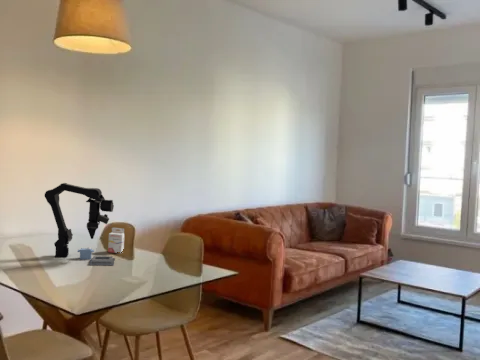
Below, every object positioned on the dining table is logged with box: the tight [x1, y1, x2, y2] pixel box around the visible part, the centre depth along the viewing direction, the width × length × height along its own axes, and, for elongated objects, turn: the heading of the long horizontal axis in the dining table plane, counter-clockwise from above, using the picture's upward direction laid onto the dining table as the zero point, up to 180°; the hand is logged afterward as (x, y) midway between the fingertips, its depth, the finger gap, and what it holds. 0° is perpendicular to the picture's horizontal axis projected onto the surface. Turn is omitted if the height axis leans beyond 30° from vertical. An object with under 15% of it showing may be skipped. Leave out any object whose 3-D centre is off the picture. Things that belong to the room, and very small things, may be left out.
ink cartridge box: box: [107, 227, 125, 254], centre depth 308 cm, size 9×5×15 cm, turn 84°
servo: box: [76, 247, 95, 260], centre depth 289 cm, size 9×4×6 cm, turn 101°
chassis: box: [88, 255, 116, 266], centre depth 282 cm, size 13×13×2 cm
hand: (92, 237), depth 290 cm, fingers open, 9 cm apart
